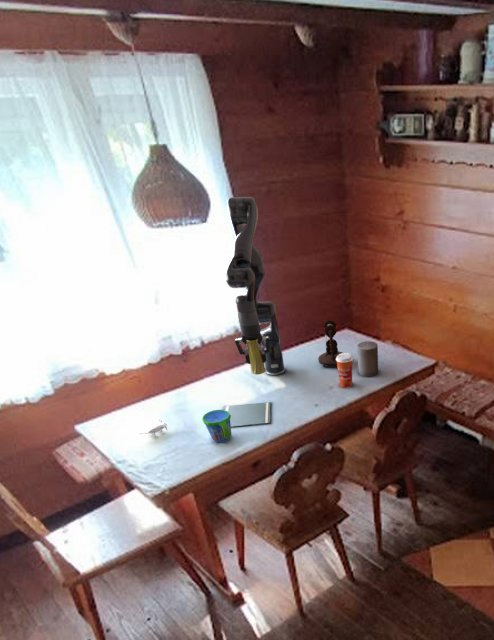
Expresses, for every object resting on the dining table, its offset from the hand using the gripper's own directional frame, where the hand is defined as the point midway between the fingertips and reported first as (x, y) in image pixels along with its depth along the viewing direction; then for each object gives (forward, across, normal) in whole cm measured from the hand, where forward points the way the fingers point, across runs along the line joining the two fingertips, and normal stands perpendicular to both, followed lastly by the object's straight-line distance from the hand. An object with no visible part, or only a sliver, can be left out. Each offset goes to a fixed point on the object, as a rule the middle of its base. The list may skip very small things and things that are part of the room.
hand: (256, 362), depth 212 cm
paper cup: (+20, -37, -13) cm, 44 cm away
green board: (+20, +7, +8) cm, 23 cm away
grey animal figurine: (+20, +43, +18) cm, 51 cm away
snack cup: (+20, +16, +25) cm, 36 cm away
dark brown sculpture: (+20, -33, -39) cm, 55 cm away
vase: (+4, 0, 0) cm, 4 cm away
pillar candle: (+20, -49, -24) cm, 58 cm away
